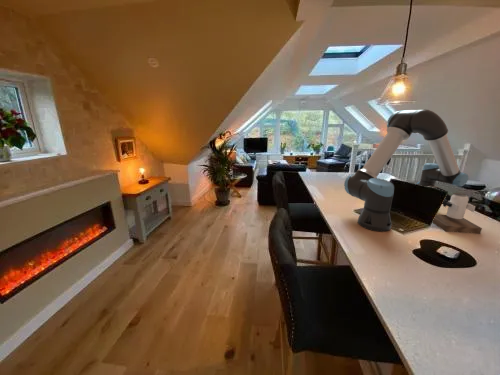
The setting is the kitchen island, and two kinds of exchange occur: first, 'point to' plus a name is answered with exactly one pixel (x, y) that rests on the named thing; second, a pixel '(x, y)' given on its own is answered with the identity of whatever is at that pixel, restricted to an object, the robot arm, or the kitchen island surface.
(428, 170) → the robot arm
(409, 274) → the kitchen island surface
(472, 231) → the walnut board
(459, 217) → the can
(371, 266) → the kitchen island surface
